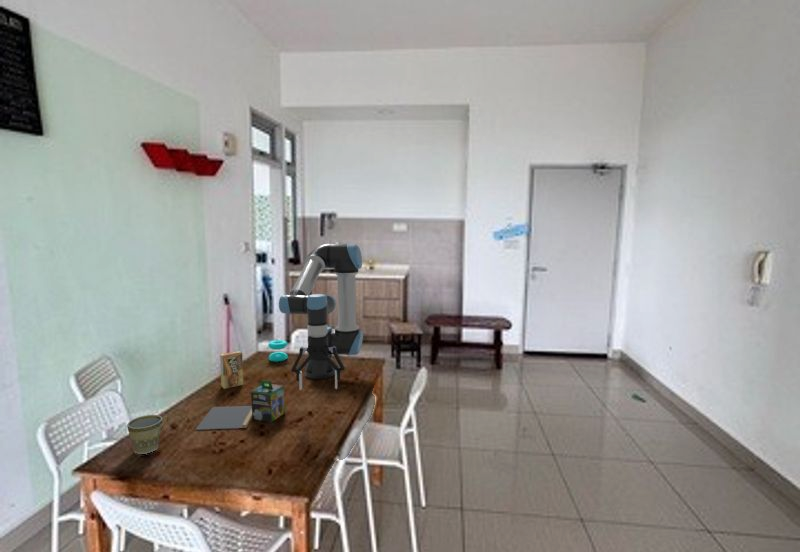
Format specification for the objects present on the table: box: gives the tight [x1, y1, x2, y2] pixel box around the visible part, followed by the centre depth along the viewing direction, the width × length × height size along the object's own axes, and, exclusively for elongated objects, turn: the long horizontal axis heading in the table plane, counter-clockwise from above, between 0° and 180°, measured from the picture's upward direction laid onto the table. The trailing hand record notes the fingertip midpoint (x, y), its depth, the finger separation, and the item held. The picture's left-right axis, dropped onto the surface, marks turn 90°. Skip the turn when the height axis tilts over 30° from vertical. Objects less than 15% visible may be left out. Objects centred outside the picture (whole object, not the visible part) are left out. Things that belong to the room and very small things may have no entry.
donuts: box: [267, 339, 289, 363], centre depth 246 cm, size 10×10×10 cm
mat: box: [195, 405, 253, 431], centre depth 173 cm, size 18×20×2 cm
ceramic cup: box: [126, 414, 170, 455], centre depth 149 cm, size 13×10×10 cm
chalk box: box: [250, 379, 286, 424], centre depth 174 cm, size 9×9×15 cm
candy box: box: [219, 350, 244, 390], centre depth 206 cm, size 9×4×15 cm, turn 129°
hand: (318, 388), depth 175 cm, fingers open, 13 cm apart
